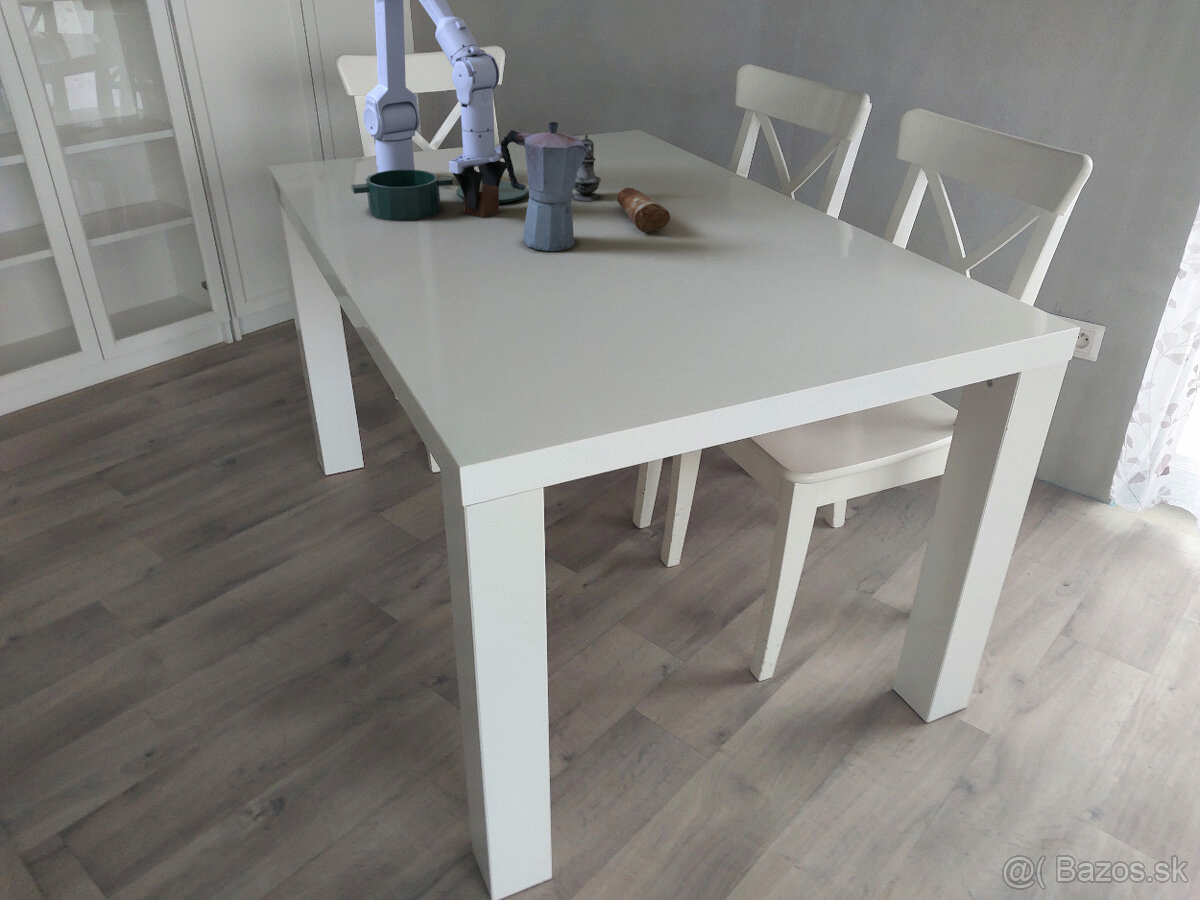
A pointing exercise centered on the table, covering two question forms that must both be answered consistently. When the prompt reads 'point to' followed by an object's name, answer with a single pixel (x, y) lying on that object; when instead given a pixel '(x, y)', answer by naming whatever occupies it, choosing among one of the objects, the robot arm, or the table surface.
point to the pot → (403, 194)
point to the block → (485, 202)
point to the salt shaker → (587, 177)
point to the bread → (643, 210)
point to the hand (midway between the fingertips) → (481, 204)
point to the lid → (503, 192)
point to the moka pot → (548, 185)
